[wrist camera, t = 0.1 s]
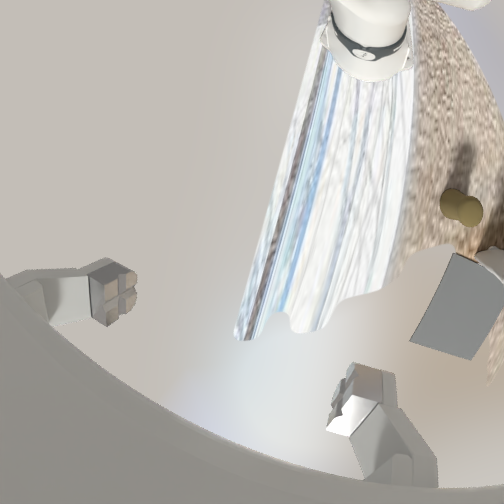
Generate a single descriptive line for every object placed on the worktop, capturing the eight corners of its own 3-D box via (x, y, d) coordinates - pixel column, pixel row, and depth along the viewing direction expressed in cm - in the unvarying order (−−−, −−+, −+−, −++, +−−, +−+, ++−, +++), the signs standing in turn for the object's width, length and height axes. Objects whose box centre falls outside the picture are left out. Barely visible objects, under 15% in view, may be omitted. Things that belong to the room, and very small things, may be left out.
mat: (453, 252, 47) (453, 253, 46) (514, 281, 42) (515, 282, 42) (409, 340, 55) (409, 341, 54) (470, 359, 50) (470, 360, 50)
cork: (466, 216, 44) (489, 229, 34) (441, 221, 46) (460, 234, 36) (463, 186, 42) (486, 192, 32) (437, 190, 45) (456, 196, 35)
